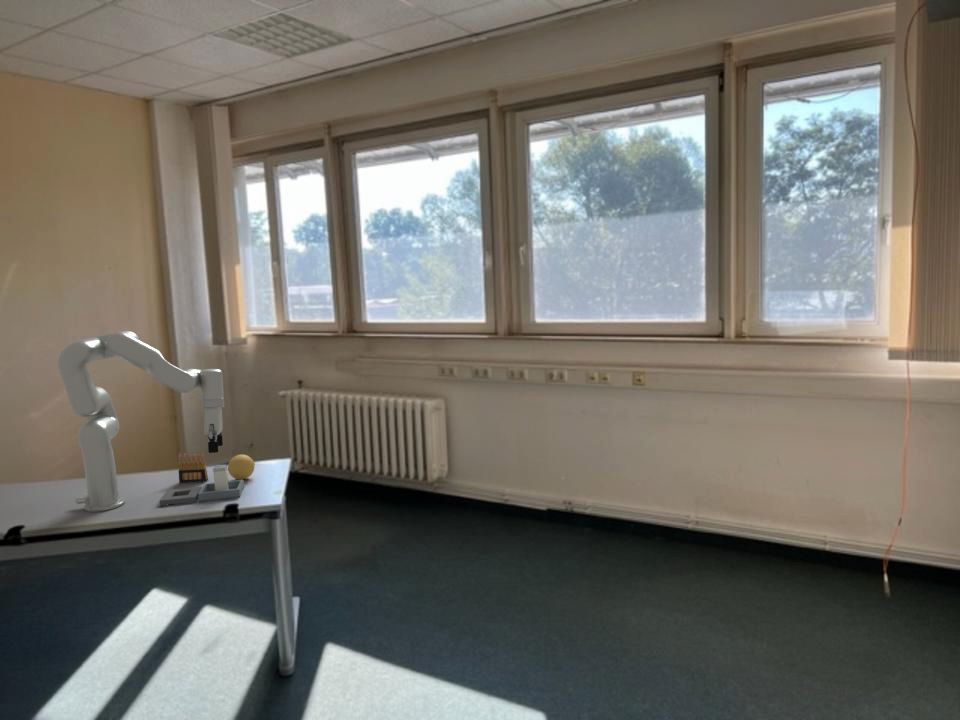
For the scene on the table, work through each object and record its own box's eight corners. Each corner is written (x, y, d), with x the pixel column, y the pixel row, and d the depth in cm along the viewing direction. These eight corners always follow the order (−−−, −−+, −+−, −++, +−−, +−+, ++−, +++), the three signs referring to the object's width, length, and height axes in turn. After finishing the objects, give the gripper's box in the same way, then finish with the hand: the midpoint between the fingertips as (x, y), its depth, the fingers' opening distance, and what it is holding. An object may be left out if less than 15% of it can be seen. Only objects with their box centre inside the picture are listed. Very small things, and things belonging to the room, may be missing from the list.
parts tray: (198, 501, 234) (198, 493, 234) (205, 491, 246) (204, 483, 245) (240, 497, 237) (239, 489, 237) (244, 487, 249) (243, 479, 248)
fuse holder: (159, 506, 231) (159, 500, 231) (168, 495, 243) (167, 490, 243) (195, 502, 234) (195, 496, 234) (202, 491, 246) (201, 486, 245)
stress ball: (250, 484, 255) (264, 463, 261) (231, 470, 250) (246, 448, 255) (236, 484, 261) (250, 463, 267) (218, 470, 256) (232, 449, 262)
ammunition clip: (208, 480, 260) (205, 451, 258) (206, 481, 258) (203, 452, 256) (181, 481, 260) (178, 452, 258) (179, 483, 258) (176, 453, 256)
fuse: (215, 495, 239) (212, 468, 238) (217, 491, 243) (214, 465, 242) (227, 494, 240) (224, 467, 239) (229, 490, 244) (226, 464, 243)
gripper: (206, 399, 245) (209, 444, 247) (197, 408, 228) (200, 456, 230) (227, 398, 246) (230, 442, 248) (220, 407, 229) (222, 454, 231)
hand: (215, 449), depth 239 cm, fingers open, 9 cm apart
